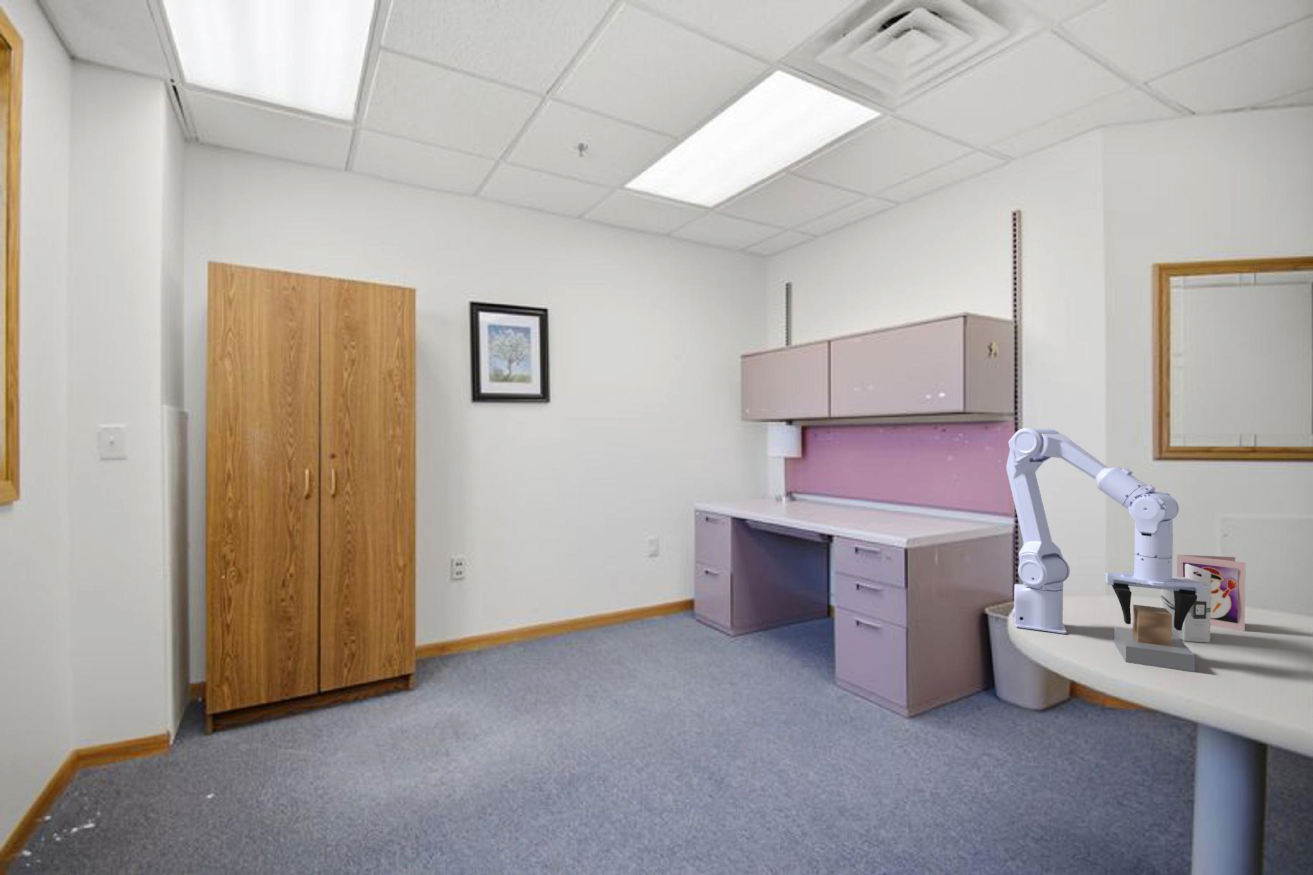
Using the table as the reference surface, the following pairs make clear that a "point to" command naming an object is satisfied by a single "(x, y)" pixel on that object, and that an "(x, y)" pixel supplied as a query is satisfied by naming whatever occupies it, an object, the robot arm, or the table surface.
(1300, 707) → the table surface
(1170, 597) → the ink box
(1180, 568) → the greeting card
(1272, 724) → the table surface
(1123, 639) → the gray rectangular slab
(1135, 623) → the walnut block
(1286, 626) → the table surface
